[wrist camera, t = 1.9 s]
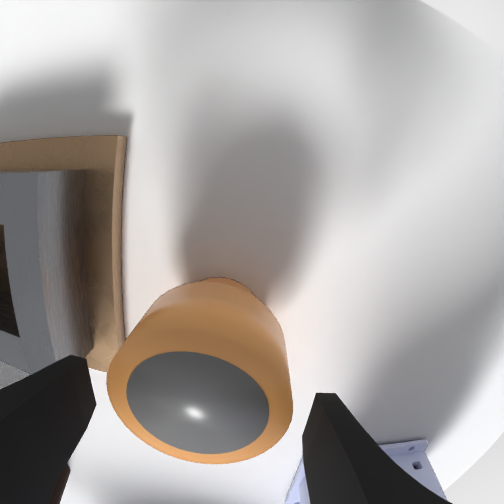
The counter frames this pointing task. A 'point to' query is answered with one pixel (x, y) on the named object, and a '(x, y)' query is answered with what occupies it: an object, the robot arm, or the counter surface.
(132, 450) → the counter surface
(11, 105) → the counter surface
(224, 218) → the counter surface
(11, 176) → the square frame on board
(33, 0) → the counter surface
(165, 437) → the cap
